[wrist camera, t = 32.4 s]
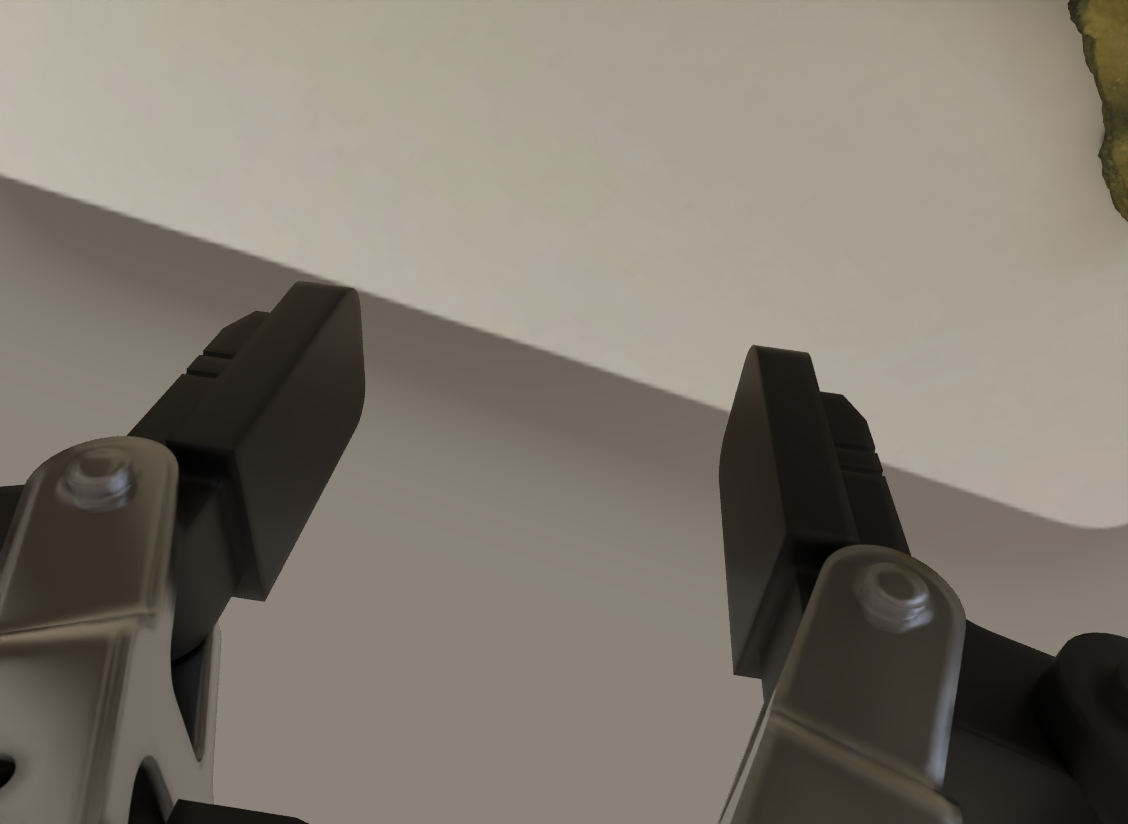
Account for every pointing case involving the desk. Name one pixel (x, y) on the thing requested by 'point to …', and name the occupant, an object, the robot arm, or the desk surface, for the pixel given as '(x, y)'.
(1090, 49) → the stone
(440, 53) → the desk surface
